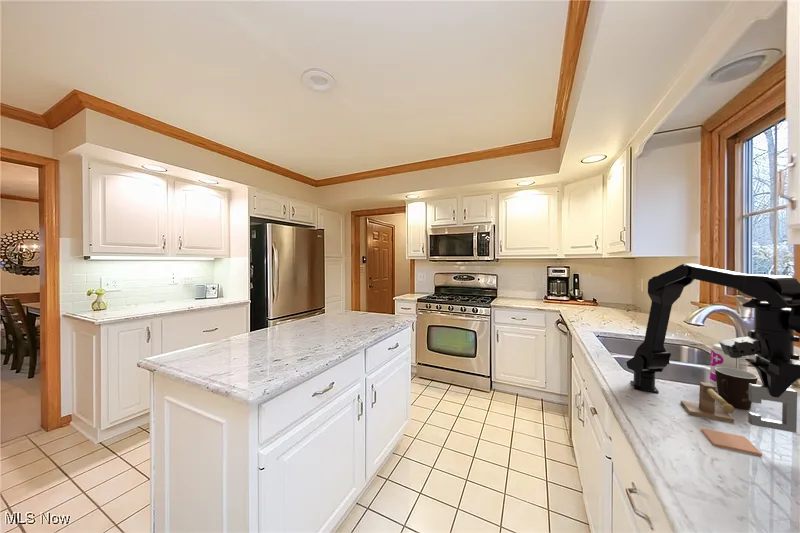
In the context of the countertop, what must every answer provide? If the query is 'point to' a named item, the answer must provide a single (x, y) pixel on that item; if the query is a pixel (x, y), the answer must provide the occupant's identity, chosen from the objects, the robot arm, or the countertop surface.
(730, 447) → the mat
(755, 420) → the link
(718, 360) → the supplement can
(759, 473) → the countertop surface
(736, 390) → the coffee mug
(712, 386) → the stand
